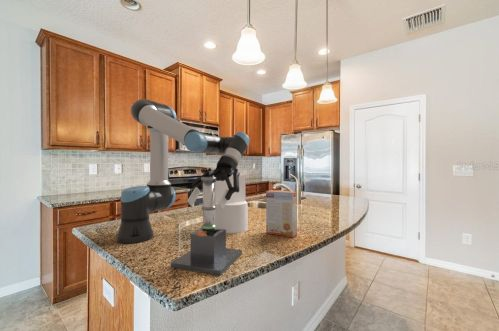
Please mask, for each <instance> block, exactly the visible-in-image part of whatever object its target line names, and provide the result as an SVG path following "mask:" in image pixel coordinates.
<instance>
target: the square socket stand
mask: <svg viewBox="0 0 499 331" xmlns="http://www.w3.org/2000/svg"><path fill="white" fill-rule="evenodd" d="M189 235H190V241H189V242H190V245H189V246H190V250H189V251H187V252H186V253H184V254H183V255H181V256H180V257H178V258H176V259H175V260H173V261H171V262H170V268H174V269H179V270H186V271H192V272H196V273H197V272H198V273H203V274H209V275H213V276H222V275H223V274H224V273H225V272H227V271H226V270H228V269H229V268H230V266H232V265H233V264H234V263H235V262H236V261H237V260H238V259H239V258H240V257H241V256H242V255H243V249H235V248H228V247H227V245H226V244H227V233H226V230H225V229H215V234H213V235H208V234H207V231H203V230H202V228H200V229H198V230H196V231H194V232H192V233H190V234H189Z"/></svg>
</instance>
